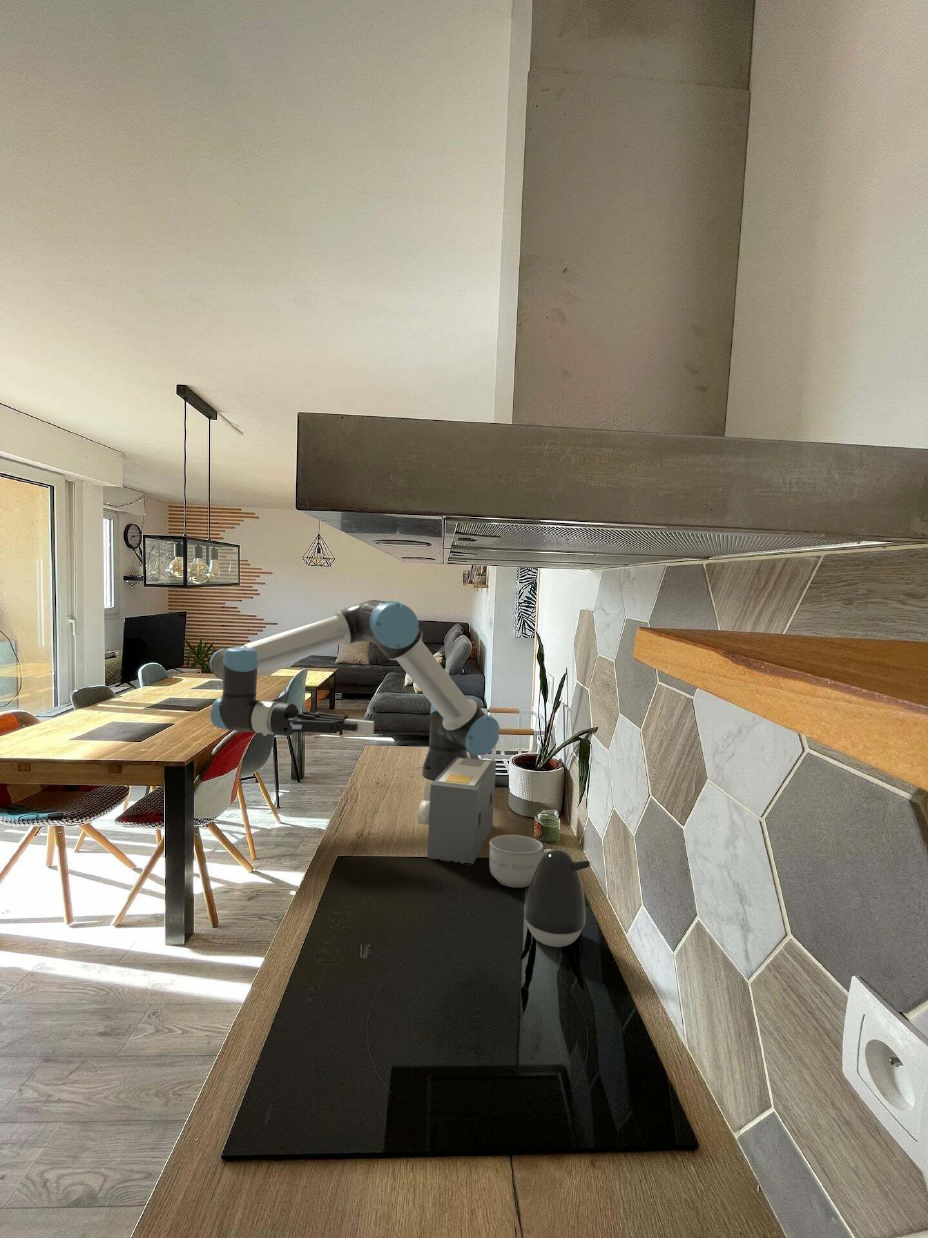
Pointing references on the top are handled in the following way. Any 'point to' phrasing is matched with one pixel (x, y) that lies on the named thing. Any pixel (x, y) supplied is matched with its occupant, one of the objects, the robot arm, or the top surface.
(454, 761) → the box
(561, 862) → the pump dispenser
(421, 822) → the marked button
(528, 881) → the teacup
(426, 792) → the unmarked button
